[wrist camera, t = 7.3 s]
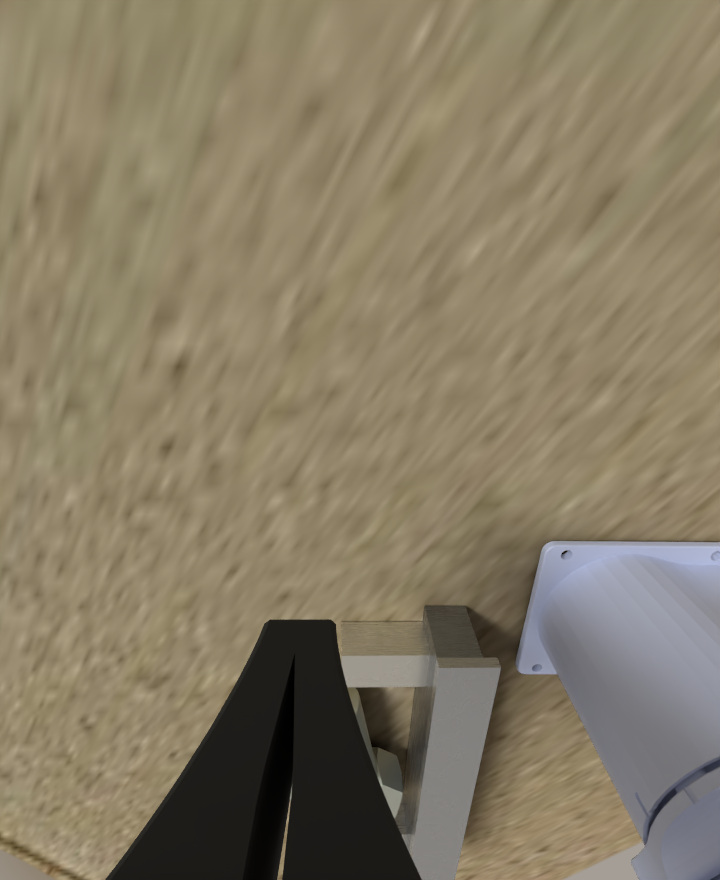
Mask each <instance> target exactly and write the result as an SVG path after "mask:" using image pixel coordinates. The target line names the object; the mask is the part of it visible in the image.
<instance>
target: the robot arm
mask: <svg viewBox="0 0 720 880" xmlns="http://www.w3.org/2000/svg"><path fill="white" fill-rule="evenodd" d="M566 550H568V551H567V552H566V553H565V554H562V552H564V551H566ZM515 665H516V667H517V670H518V671H519V672H520V673H521V674H557V675H558V677H559V678H560V680H561V682H562V684H563V686H564V688H565V690H566V692H567V694H568V696H569V698H570V700H571V702H572V704H573V706H574V708H575V710H576V712H577V714H578V716H579V718H580V720H581V722H582V723H583V725H584V727H585V729H586V731H587V733H588V735H589V737H590V739H591V741H592V743H593V745H594V747H595V749H596V751H597V753H598V755H599V757H600V759H601V761H602V763H603V765H604V767H605V768H606V770H607V772H608V774H609V776H610V778H611V780H612V782H613V784H614V786H615V788H616V790H617V792H618V794H619V796H620V798H621V800H622V802H623V804H624V806H625V808H626V810H627V811H628V813H629V815H630V817H631V819H632V821H633V823H634V825H635V827H636V829H637V831H638V833H639V835H640V837H641V839H642V841H643V843H644V845H645V847H644V849H643V850H642V851H641V852H640V853H639V854H638V855H637V856H635V857H634V858H633V859H632V860H631V864H632V866H633V868H634V870H635V872H636V875H637V877H638V879H639V880H720V542H617V541H552V542H549V543H547V544H546V545H545V546H543V548H542V551H541V555H540V559H539V564H538V568H537V572H536V576H535V581H534V585H533V589H532V594H531V598H530V602H529V606H528V611H527V615H526V619H525V623H524V628H523V632H522V636H521V640H520V645H519V649H518V653H517V657H516V662H515ZM291 788H292V796H291V806H290V815H289V824H288V833H287V842H286V851H285V860H284V870H283V878H282V880H422V879H421V877H420V875H419V872H418V870H417V868H416V866H415V864H414V862H413V860H412V857H411V855H410V853H409V851H408V849H407V846H406V844H405V842H404V840H403V837H402V835H401V833H400V831H399V828H398V826H397V824H396V821H395V819H394V817H393V814H392V812H391V810H390V807H389V805H388V802H387V800H386V797H385V795H384V793H383V790H382V788H381V785H380V783H379V780H378V777H377V775H376V772H375V769H374V767H373V764H372V761H371V759H370V756H369V753H368V751H367V748H366V745H365V742H364V739H363V736H362V734H361V731H360V727H359V724H358V721H357V718H356V715H355V712H354V708H353V705H352V702H351V699H350V696H349V692H348V688H347V685H346V681H345V677H344V673H343V669H342V664H341V660H340V655H339V649H338V643H337V635H336V624H335V623H334V622H333V621H332V620H269V621H268V622H266V623H265V624H264V626H263V629H262V631H261V634H260V636H259V638H258V641H257V643H256V645H255V647H254V649H253V651H252V653H251V655H250V657H249V659H248V661H247V663H246V665H245V667H244V669H243V671H242V673H241V675H240V677H239V679H238V681H237V682H236V684H235V686H234V688H233V690H232V691H231V693H230V695H229V697H228V698H227V700H226V702H225V704H224V705H223V707H222V709H221V711H220V712H219V714H218V716H217V717H216V719H215V721H214V723H213V724H212V726H211V728H210V729H209V731H208V733H207V734H206V736H205V737H204V739H203V740H202V742H201V744H200V745H199V747H198V748H197V750H196V751H195V753H194V754H193V756H192V758H191V759H190V761H189V762H188V764H187V765H186V767H185V769H184V770H183V772H182V773H181V775H180V776H179V778H178V779H177V781H176V782H175V784H174V785H173V787H172V788H171V790H170V791H169V793H168V794H167V796H166V797H165V799H164V800H163V802H162V803H161V804H160V806H159V807H158V809H157V810H156V812H155V813H154V814H153V816H152V817H151V819H150V820H149V822H148V823H147V824H146V826H145V827H144V828H143V830H142V831H141V833H140V834H139V835H138V837H137V838H136V839H135V841H134V842H133V844H132V845H131V846H130V848H129V849H128V851H127V852H126V853H125V855H124V856H123V857H122V859H121V860H120V861H119V863H118V864H117V865H116V867H115V868H114V869H113V870H112V872H111V873H110V874H109V876H108V877H107V878H106V880H277V876H278V870H279V864H280V858H281V851H282V845H283V839H284V832H285V826H286V820H287V813H288V807H289V801H290V794H291Z"/></svg>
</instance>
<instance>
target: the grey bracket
mask: <svg viewBox="0 0 720 880" xmlns="http://www.w3.org/2000/svg"><path fill="white" fill-rule="evenodd" d="M341 664H342V669H343V673H344V677H345V681H346V685H347V687H415V691H414V700H413V708H412V717H411V725H410V734H409V742H408V750H407V759H406V767H405V776H404V784H403V794H402V799H401V803H400V806H399V809H398V812H397V815H396V817H395V821H396V824H397V826H398V828H399V831H400V833H401V835H402V837H403V840H404V842H405V844H406V846H407V849H408V851H409V853H410V855H411V857H412V860H413V862H414V864H415V866H416V868H417V870H418V872H419V875H420V877H421V879H422V880H455V876H456V871H457V867H458V862H459V858H460V853H461V849H462V844H463V839H464V835H465V830H466V826H467V821H468V817H469V812H470V808H471V803H472V798H473V794H474V789H475V785H476V780H477V776H478V771H479V766H480V762H481V757H482V753H483V748H484V744H485V739H486V735H487V730H488V725H489V721H490V716H491V712H492V707H493V703H494V698H495V694H496V689H497V684H498V680H499V675H500V671H501V666H500V663H499V661H498V658H483V655H482V652H481V649H480V646H479V644H478V641H477V638H476V635H475V632H474V629H473V626H472V624H471V621H470V618H469V615H468V612H467V609H466V606H425V607H424V615H423V622H342V626H341Z"/></svg>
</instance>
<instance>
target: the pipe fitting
mask: <svg viewBox="0 0 720 880" xmlns="http://www.w3.org/2000/svg"><path fill="white" fill-rule="evenodd" d="M347 688H348V692H349V696H350V699H351V702H352V705H353V708H354V712H355V715H356V718H357V721H358V724H359V727H360V731H361V734H362V736H363V739H364V742H365V745H366V748H367V751H368V753H369V756H370V759H371V761H372V764H373V767H374V769H375V772H376V775H377V777H378V780H379V783H380V785H381V788H382V790H383V793H384V795H385V797H386V800H387V802H388V805H389V807H390V810H391V812H392V814H393V817H394V819H395V817H396V815H397V812H398V809H399V806H400V803H401V799H402V794H403V781H402V773H401V769H400V764H399V761H398V758H397V755H394V754H392V753H390V752H387V751H385V750H383V749H380V748H378V747H372V746H371V742H370V738H369V734H368V729H367V725H366V721H365V717H364V713H363V709H362V704H361V700H360V696H359V693H358V690H357V689H356V687H347ZM291 796H292V788H291V794H290V800H291Z"/></svg>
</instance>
